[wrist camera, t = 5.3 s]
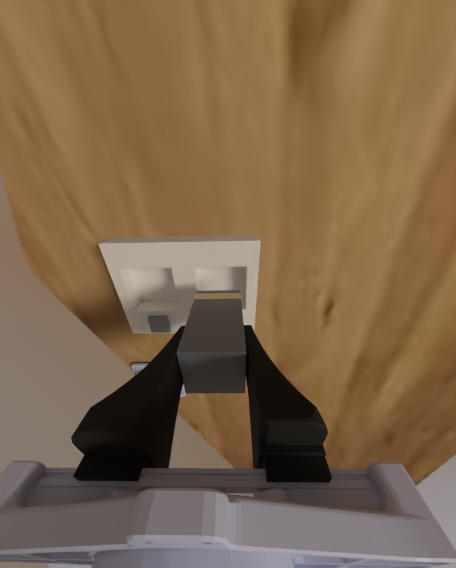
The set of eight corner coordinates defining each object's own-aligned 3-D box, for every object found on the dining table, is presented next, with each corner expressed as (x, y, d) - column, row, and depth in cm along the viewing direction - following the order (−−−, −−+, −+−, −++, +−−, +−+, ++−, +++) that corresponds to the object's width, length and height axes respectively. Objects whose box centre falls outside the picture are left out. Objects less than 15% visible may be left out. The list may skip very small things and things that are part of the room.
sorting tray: (251, 319, 25) (254, 334, 22) (141, 320, 25) (131, 335, 22) (256, 234, 19) (261, 241, 16) (113, 237, 19) (95, 244, 17)
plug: (240, 323, 18) (245, 393, 12) (200, 324, 18) (185, 393, 12) (240, 289, 16) (247, 351, 10) (196, 290, 16) (175, 351, 10)
